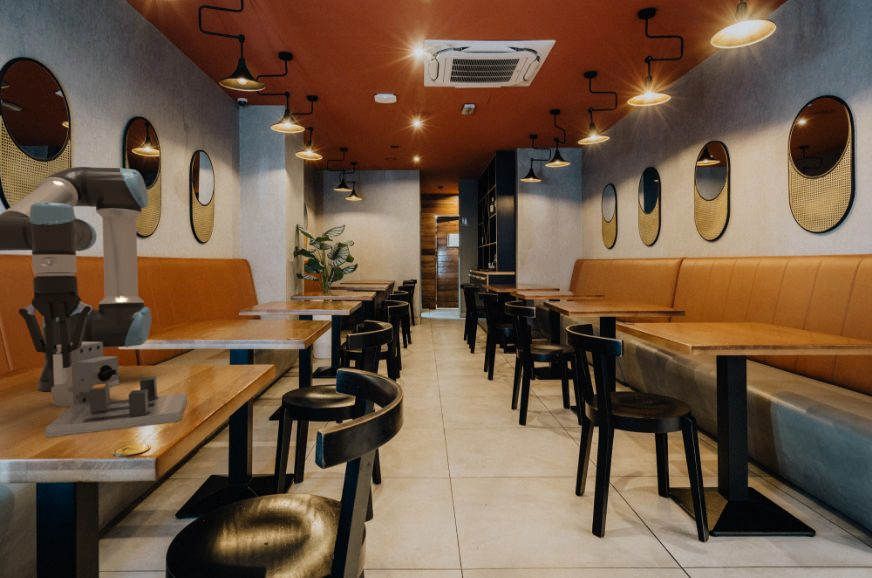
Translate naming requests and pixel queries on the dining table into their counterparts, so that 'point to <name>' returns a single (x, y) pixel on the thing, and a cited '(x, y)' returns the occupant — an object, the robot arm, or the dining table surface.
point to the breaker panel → (122, 412)
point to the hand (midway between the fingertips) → (60, 383)
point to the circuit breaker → (85, 374)
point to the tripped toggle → (99, 398)
